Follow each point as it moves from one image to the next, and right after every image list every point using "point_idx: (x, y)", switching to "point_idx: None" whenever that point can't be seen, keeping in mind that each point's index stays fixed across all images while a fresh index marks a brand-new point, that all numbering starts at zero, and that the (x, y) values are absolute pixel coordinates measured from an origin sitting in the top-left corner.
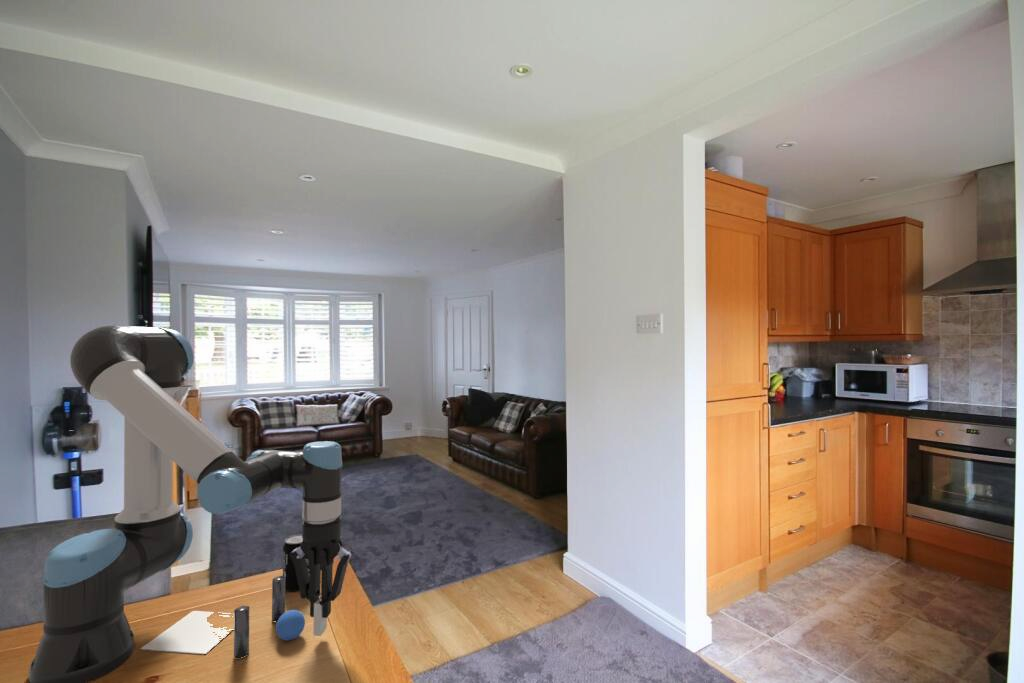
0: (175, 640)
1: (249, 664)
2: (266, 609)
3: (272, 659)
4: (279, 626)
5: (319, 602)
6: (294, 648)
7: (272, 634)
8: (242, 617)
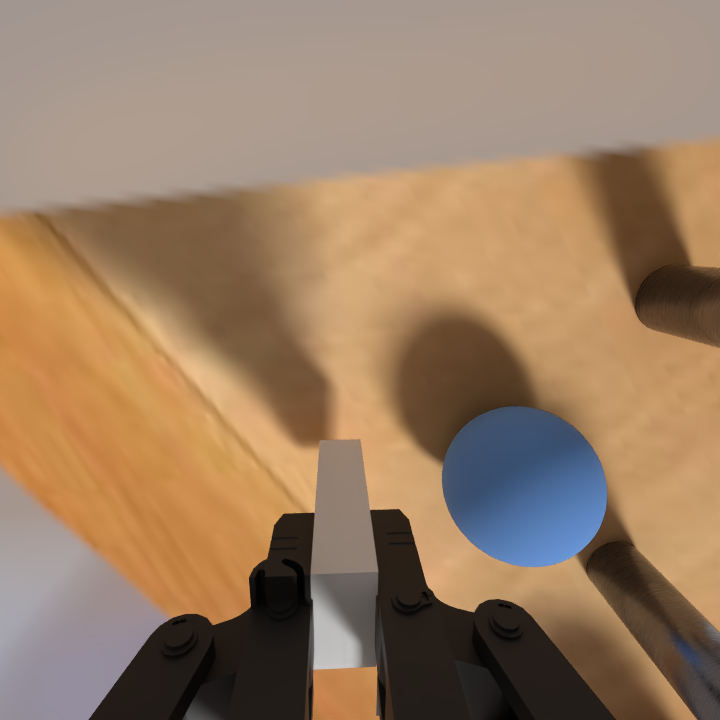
0: None
1: (595, 233)
2: None
3: (500, 284)
4: (570, 434)
5: (308, 573)
6: (433, 378)
7: None
8: None
